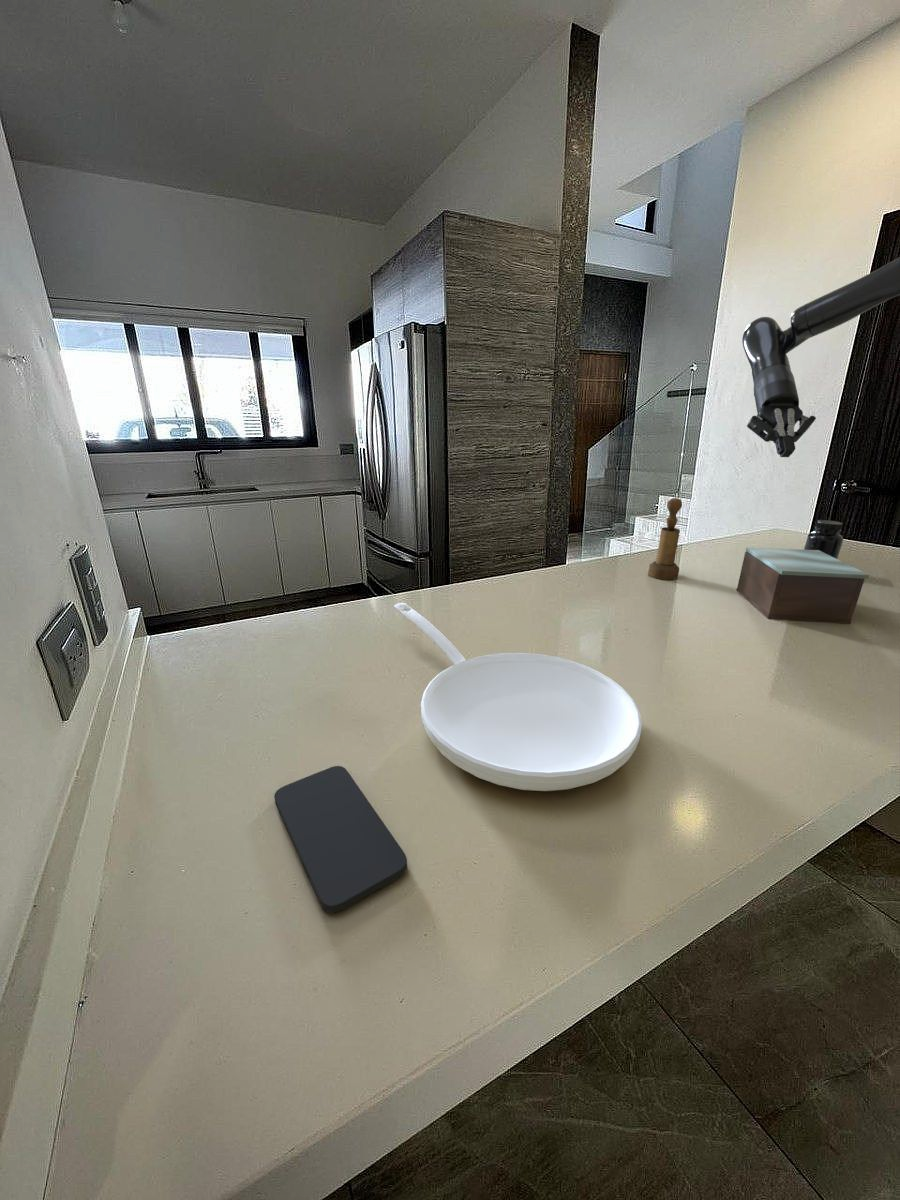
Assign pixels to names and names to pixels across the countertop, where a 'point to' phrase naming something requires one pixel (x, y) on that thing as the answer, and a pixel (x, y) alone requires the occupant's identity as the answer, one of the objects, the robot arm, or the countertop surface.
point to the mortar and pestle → (667, 546)
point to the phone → (339, 838)
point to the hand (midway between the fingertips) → (787, 454)
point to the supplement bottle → (825, 538)
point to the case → (798, 594)
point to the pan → (527, 717)
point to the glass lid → (805, 563)
